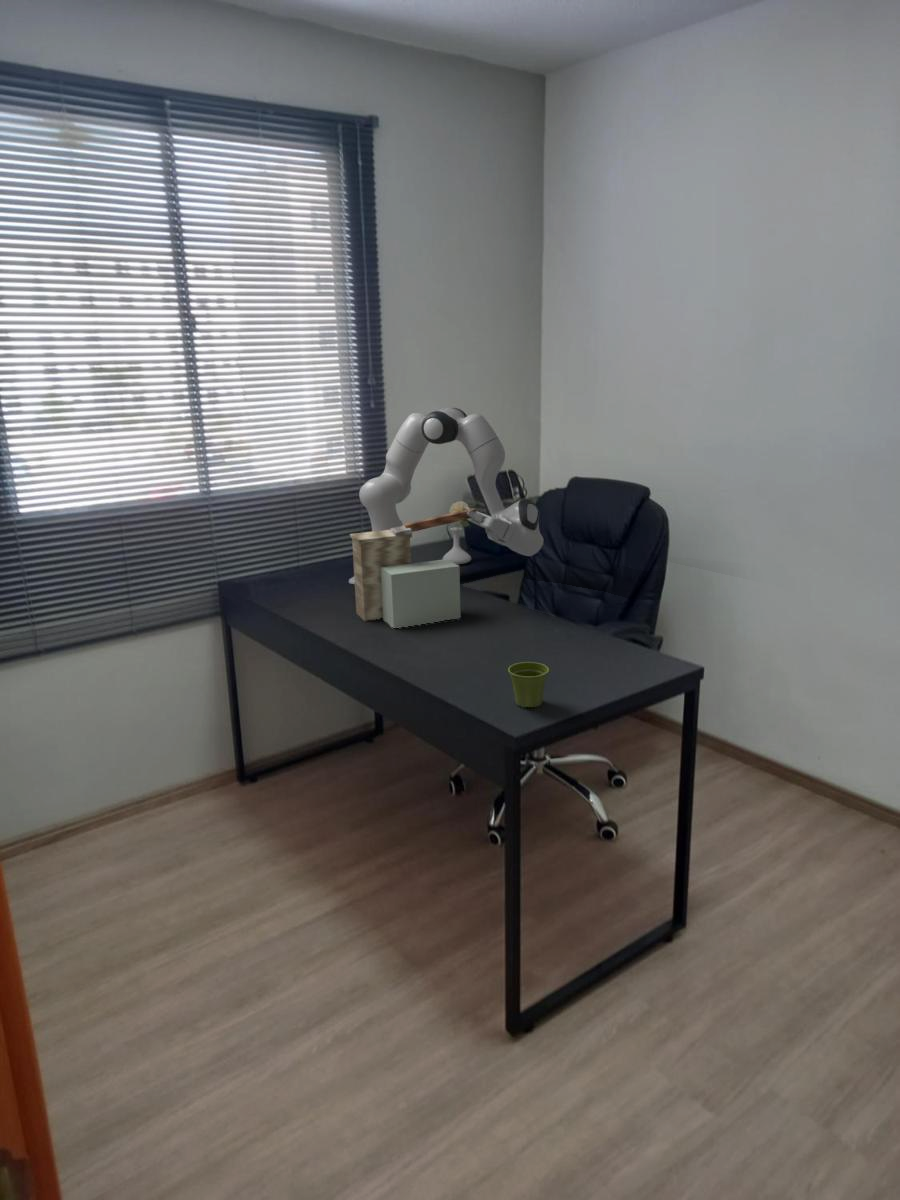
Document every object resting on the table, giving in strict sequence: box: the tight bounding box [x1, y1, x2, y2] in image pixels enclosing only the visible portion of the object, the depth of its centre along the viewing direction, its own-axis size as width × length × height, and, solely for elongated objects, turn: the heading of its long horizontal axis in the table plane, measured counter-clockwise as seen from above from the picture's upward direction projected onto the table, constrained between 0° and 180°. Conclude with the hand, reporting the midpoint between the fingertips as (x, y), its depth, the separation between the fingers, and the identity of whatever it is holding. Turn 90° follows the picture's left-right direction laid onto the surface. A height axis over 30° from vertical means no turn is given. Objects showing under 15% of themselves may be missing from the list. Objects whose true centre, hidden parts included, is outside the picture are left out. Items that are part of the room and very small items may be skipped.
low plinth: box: [381, 559, 462, 629], centre depth 257 cm, size 22×10×17 cm, turn 113°
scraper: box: [391, 507, 477, 538], centre depth 259 cm, size 27×7×2 cm, turn 107°
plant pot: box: [507, 661, 550, 708], centre depth 195 cm, size 9×9×9 cm
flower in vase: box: [441, 500, 472, 565], centre depth 324 cm, size 13×11×25 cm
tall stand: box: [349, 530, 413, 622], centre depth 263 cm, size 17×10×26 cm, turn 113°
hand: (464, 511), depth 261 cm, fingers closed on scraper, 3 cm apart
